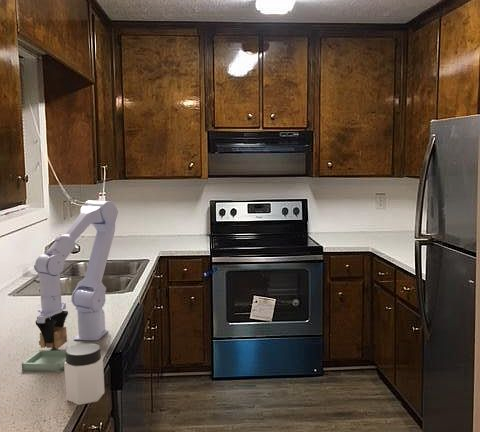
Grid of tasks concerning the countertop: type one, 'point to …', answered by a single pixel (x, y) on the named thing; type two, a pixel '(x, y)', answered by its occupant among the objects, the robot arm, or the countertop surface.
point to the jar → (84, 373)
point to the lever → (54, 349)
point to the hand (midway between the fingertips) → (53, 339)
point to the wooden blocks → (55, 338)
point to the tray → (45, 361)
